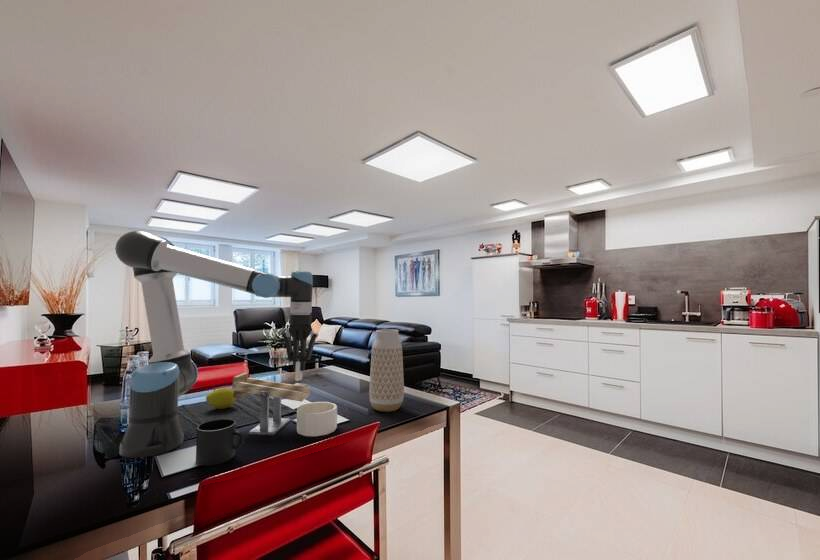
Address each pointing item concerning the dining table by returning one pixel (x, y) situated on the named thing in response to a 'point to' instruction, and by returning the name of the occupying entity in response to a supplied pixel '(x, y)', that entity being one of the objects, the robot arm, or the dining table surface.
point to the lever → (268, 388)
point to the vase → (386, 371)
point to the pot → (316, 418)
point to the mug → (216, 441)
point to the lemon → (221, 398)
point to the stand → (268, 424)
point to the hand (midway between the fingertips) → (298, 379)
